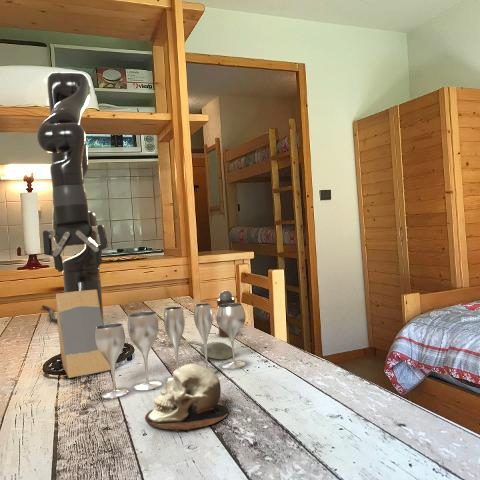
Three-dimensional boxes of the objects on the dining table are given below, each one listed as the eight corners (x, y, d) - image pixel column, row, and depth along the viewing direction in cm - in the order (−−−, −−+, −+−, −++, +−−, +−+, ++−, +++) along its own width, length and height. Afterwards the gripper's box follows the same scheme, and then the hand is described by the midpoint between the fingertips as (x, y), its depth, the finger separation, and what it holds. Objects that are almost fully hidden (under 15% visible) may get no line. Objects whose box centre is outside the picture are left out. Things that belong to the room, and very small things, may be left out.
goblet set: (104, 402, 86) (98, 323, 85) (96, 393, 90) (90, 318, 90) (253, 365, 102) (249, 298, 101) (240, 359, 107) (236, 295, 106)
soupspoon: (213, 366, 105) (239, 359, 110) (213, 349, 105) (239, 344, 109) (160, 346, 120) (185, 341, 125) (160, 332, 120) (185, 327, 125)
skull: (151, 436, 68) (139, 367, 74) (149, 463, 75) (138, 398, 81) (239, 413, 73) (221, 350, 79) (229, 440, 81) (214, 381, 86)
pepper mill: (217, 334, 131) (214, 290, 130) (235, 331, 132) (232, 288, 132) (221, 337, 127) (217, 292, 126) (238, 335, 128) (235, 290, 128)
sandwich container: (67, 378, 100) (60, 302, 99) (60, 361, 113) (54, 293, 112) (114, 369, 104) (108, 296, 103) (102, 354, 117) (97, 288, 117)
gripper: (104, 202, 133) (112, 264, 134) (44, 207, 130) (52, 271, 130) (98, 200, 126) (107, 266, 126) (34, 206, 122) (43, 274, 123)
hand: (79, 269), depth 128 cm, fingers open, 8 cm apart
